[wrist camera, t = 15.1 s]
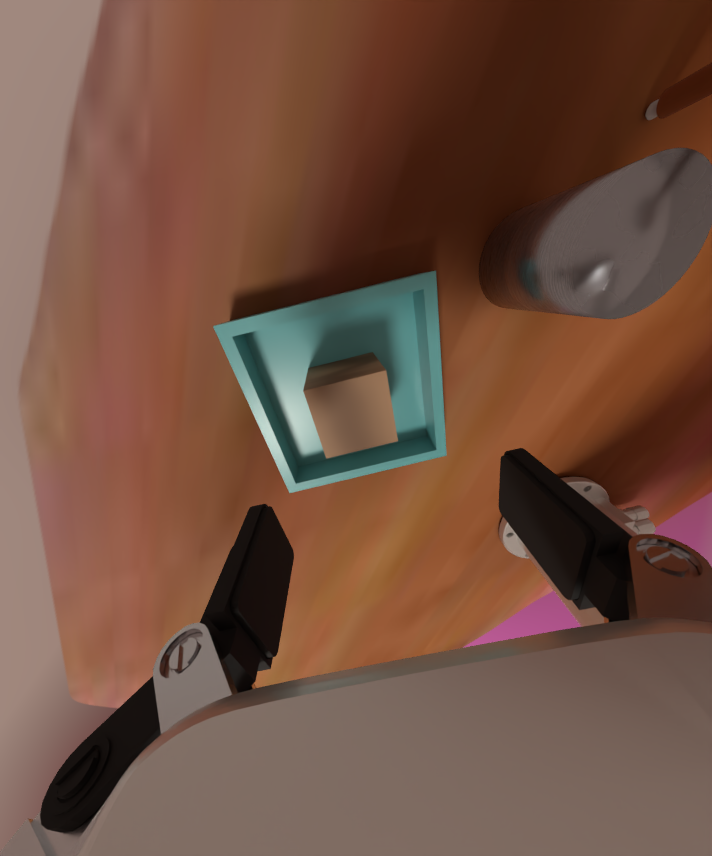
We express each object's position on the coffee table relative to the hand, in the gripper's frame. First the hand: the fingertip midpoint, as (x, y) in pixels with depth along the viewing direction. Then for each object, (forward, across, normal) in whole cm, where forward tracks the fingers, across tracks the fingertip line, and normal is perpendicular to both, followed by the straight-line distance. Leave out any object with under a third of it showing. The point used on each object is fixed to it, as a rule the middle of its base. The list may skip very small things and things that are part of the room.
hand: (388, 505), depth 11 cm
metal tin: (+13, -13, -7) cm, 20 cm away
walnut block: (+12, +1, -1) cm, 12 cm away
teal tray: (+13, +1, -1) cm, 13 cm away
